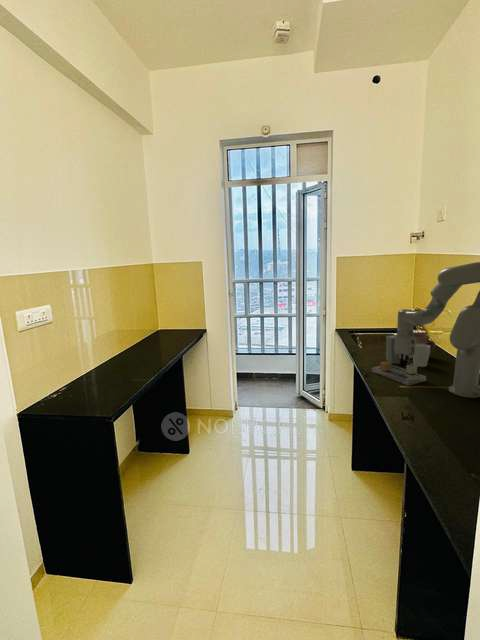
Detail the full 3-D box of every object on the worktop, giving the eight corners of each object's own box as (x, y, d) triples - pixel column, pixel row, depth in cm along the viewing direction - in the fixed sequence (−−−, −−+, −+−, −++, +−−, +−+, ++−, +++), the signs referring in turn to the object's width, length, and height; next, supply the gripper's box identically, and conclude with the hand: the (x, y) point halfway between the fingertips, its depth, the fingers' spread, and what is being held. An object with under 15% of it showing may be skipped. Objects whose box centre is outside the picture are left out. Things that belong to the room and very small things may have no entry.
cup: (411, 366, 193) (412, 346, 191) (411, 362, 201) (413, 342, 199) (429, 368, 189) (430, 348, 187) (428, 364, 197) (430, 344, 195)
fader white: (416, 372, 175) (417, 365, 174) (411, 374, 173) (412, 366, 172) (411, 371, 177) (411, 363, 177) (406, 372, 176) (406, 364, 175)
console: (425, 381, 171) (426, 376, 170) (408, 385, 165) (408, 380, 165) (388, 368, 191) (388, 363, 191) (371, 371, 186) (372, 367, 185)
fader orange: (390, 369, 180) (390, 362, 179) (384, 370, 178) (385, 363, 177) (385, 368, 183) (385, 361, 182) (380, 369, 181) (380, 362, 180)
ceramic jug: (401, 358, 209) (403, 336, 207) (401, 352, 222) (403, 331, 220) (434, 361, 202) (437, 338, 199) (433, 355, 214) (435, 333, 212)
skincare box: (402, 363, 198) (404, 337, 195) (390, 364, 198) (391, 338, 196) (395, 359, 207) (397, 334, 204) (384, 359, 207) (385, 334, 204)
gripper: (422, 334, 171) (420, 369, 174) (397, 330, 185) (396, 362, 188) (412, 336, 168) (410, 371, 171) (388, 331, 182) (386, 364, 184)
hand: (403, 366), depth 179 cm, fingers closed
